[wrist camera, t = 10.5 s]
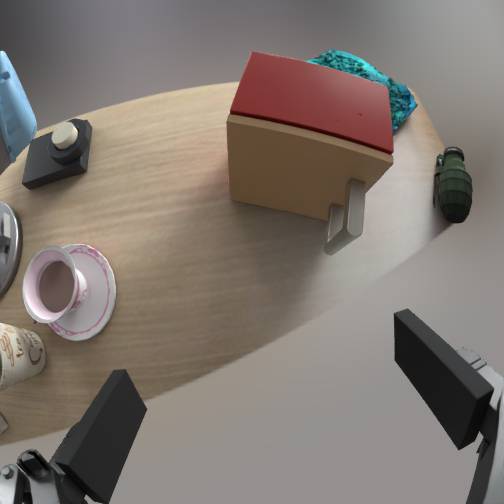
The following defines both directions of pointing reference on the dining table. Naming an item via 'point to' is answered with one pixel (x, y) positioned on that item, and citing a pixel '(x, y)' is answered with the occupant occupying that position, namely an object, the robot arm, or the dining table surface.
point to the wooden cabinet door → (303, 174)
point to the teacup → (70, 290)
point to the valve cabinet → (315, 100)
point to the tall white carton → (2, 424)
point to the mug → (19, 355)
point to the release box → (57, 157)
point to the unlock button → (64, 135)
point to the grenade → (453, 185)
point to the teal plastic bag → (347, 63)
